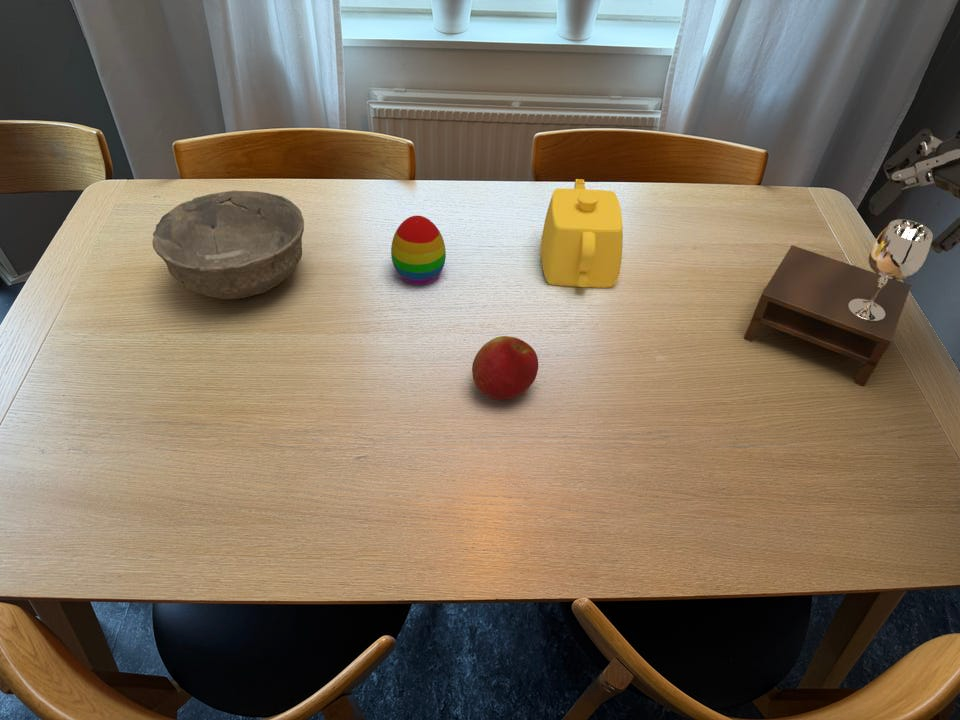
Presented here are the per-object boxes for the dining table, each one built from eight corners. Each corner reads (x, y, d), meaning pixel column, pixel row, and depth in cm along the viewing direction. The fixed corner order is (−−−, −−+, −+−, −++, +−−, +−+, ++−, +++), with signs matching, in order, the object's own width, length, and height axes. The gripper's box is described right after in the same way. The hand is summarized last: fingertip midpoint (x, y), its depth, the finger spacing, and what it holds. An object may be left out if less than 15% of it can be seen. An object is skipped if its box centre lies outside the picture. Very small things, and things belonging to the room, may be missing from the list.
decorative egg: (391, 290, 99) (386, 233, 92) (394, 258, 104) (390, 203, 98) (446, 290, 99) (444, 233, 92) (446, 258, 105) (445, 203, 98)
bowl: (343, 274, 101) (334, 218, 94) (235, 346, 89) (216, 288, 82) (253, 228, 110) (239, 174, 103) (143, 289, 98) (119, 231, 91)
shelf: (885, 329, 94) (911, 284, 89) (863, 386, 86) (891, 341, 80) (773, 288, 101) (791, 244, 95) (743, 338, 92) (761, 293, 87)
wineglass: (868, 292, 87) (911, 213, 79) (901, 319, 83) (949, 239, 75) (833, 300, 86) (873, 221, 78) (864, 328, 82) (909, 247, 74)
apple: (527, 418, 81) (532, 372, 75) (464, 403, 82) (465, 357, 77) (540, 375, 86) (546, 330, 81) (481, 363, 88) (482, 317, 82)
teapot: (538, 223, 113) (545, 159, 104) (611, 227, 112) (623, 162, 104) (540, 296, 98) (547, 228, 90) (623, 300, 98) (637, 233, 90)
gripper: (962, 71, 73) (846, 185, 78) (1094, 122, 64) (953, 248, 68) (968, 110, 79) (859, 214, 83) (1090, 162, 70) (961, 276, 74)
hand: (902, 229), depth 76 cm, fingers open, 8 cm apart
